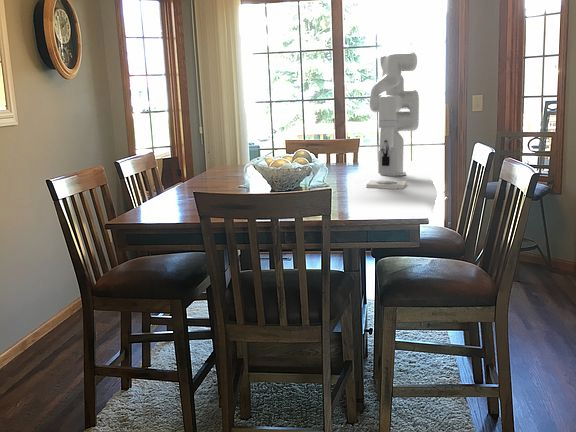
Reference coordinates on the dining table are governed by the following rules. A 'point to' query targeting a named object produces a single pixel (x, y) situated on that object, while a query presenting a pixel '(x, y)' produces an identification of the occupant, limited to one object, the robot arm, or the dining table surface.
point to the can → (391, 168)
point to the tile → (386, 184)
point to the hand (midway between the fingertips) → (386, 164)
